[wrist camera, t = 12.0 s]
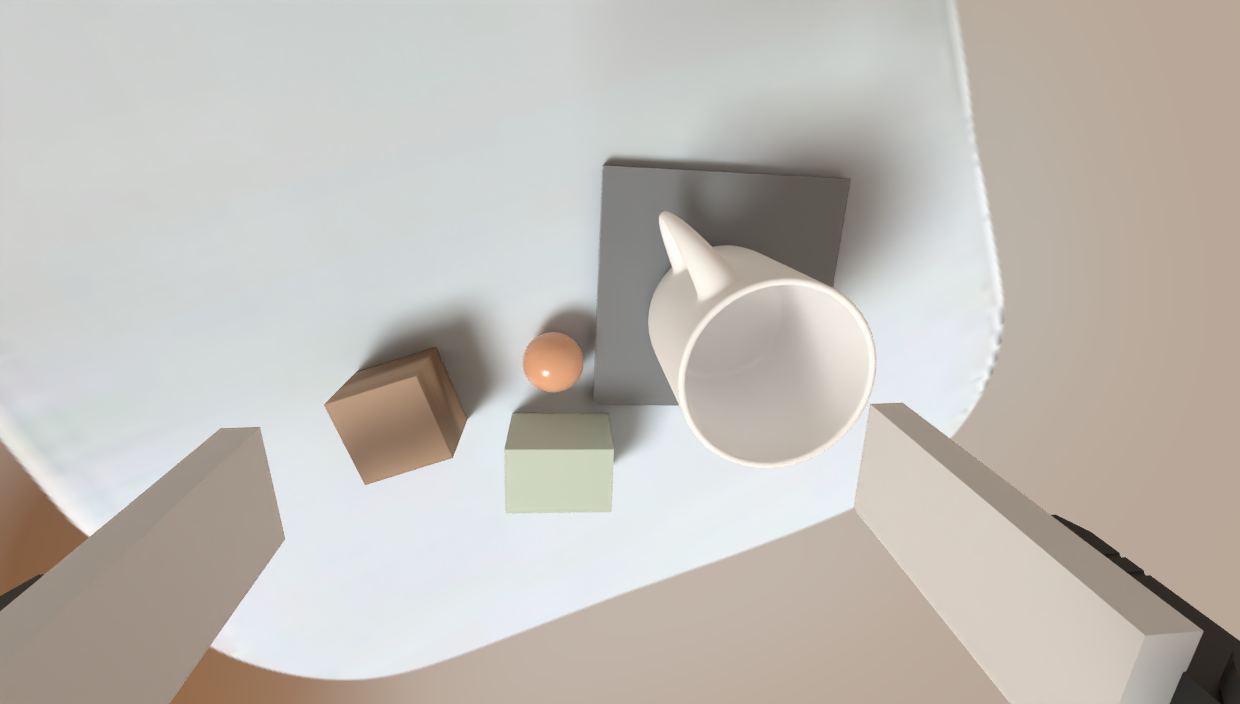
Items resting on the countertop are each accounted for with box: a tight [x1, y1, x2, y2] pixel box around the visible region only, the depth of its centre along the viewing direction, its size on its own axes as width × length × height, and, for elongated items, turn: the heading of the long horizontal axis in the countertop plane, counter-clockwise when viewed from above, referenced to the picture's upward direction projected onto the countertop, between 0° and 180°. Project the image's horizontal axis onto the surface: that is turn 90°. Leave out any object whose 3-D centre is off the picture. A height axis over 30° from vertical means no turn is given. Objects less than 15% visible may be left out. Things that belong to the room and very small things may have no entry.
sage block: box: [504, 413, 614, 513], centre depth 35 cm, size 4×6×5 cm, turn 87°
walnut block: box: [324, 347, 467, 485], centre depth 33 cm, size 5×5×5 cm
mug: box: [648, 211, 876, 468], centre depth 29 cm, size 9×12×11 cm
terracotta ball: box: [523, 332, 584, 393], centre depth 34 cm, size 4×4×4 cm
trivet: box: [593, 165, 850, 405], centre depth 35 cm, size 14×14×1 cm
